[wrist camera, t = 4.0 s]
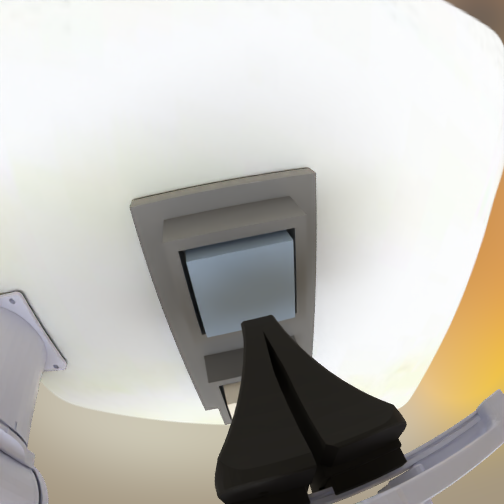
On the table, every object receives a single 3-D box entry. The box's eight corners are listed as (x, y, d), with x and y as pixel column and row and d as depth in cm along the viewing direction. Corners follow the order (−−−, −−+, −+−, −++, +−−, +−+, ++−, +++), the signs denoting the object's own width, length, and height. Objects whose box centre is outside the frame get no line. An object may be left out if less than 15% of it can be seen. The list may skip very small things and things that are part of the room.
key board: (204, 401, 26) (209, 433, 23) (132, 200, 16) (122, 228, 13) (306, 377, 28) (319, 405, 25) (308, 168, 17) (336, 188, 14)
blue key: (203, 313, 18) (207, 337, 16) (184, 240, 15) (186, 262, 14) (284, 295, 19) (295, 317, 17) (280, 221, 16) (293, 239, 14)
